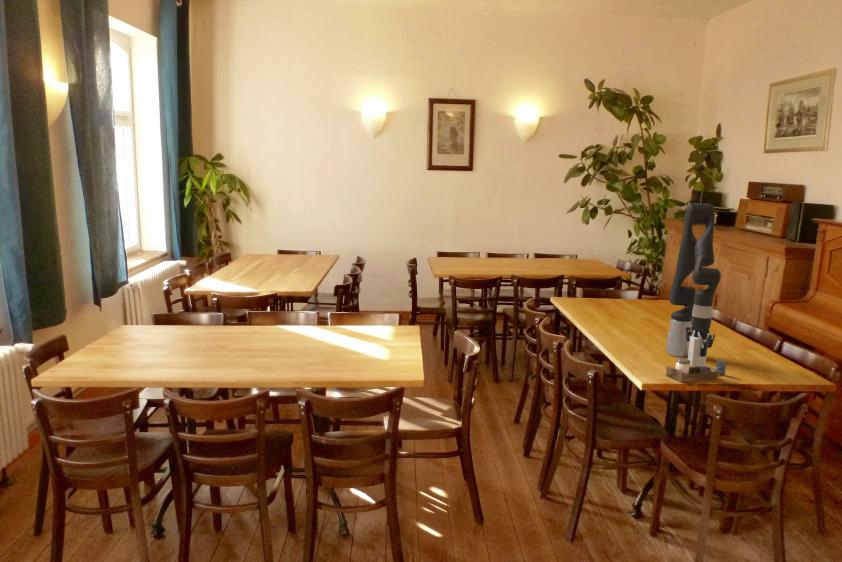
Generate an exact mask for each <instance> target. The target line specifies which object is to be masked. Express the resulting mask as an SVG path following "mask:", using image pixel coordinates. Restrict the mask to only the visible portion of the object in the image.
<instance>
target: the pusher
mask: <svg viewBox="0 0 842 562" xmlns="http://www.w3.org/2000/svg"><path fill="white" fill-rule="evenodd" d="M726 369H727V361H724V360H722V359H716V365H715V366H713V367H711V366H709V365H706V366H699V373H705V372H713V371H716V372H718V375H720V376H724V377H725V376H726Z"/></svg>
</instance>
